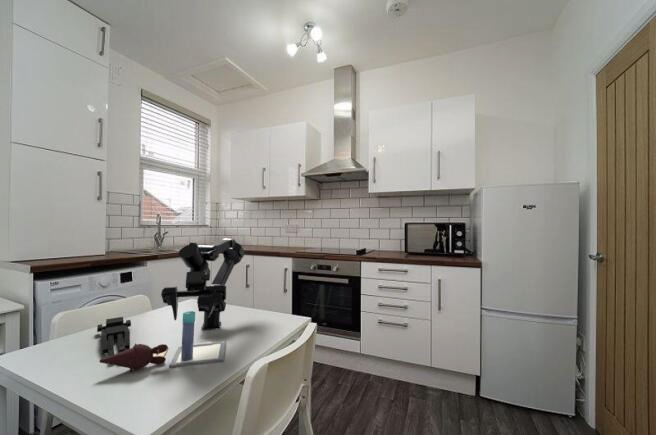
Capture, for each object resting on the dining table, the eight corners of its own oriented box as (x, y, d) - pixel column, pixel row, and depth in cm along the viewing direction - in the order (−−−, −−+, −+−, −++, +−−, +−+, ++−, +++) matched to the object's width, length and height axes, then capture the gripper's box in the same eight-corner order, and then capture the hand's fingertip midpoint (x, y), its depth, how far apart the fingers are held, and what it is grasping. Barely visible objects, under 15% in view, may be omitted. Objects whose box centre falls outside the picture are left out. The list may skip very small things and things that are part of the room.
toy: (137, 362, 79) (129, 327, 102) (138, 346, 79) (130, 315, 102) (94, 373, 73) (96, 333, 96) (95, 355, 73) (97, 320, 96)
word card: (154, 349, 84) (154, 348, 84) (168, 348, 86) (168, 347, 86) (147, 358, 79) (147, 357, 79) (163, 357, 80) (163, 355, 80)
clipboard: (178, 348, 86) (178, 344, 86) (225, 344, 90) (225, 340, 90) (168, 367, 74) (169, 362, 74) (223, 361, 79) (223, 356, 79)
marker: (184, 355, 79) (186, 311, 80) (195, 356, 79) (197, 311, 80) (178, 361, 76) (180, 314, 77) (189, 361, 76) (191, 314, 77)
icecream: (97, 358, 66) (168, 351, 73) (104, 339, 72) (169, 334, 79) (94, 383, 66) (164, 374, 74) (101, 363, 73) (165, 356, 80)
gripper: (164, 261, 85) (152, 307, 74) (227, 260, 91) (224, 302, 80) (168, 281, 92) (158, 325, 82) (227, 279, 98) (224, 320, 88)
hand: (192, 318), depth 83 cm, fingers open, 9 cm apart
